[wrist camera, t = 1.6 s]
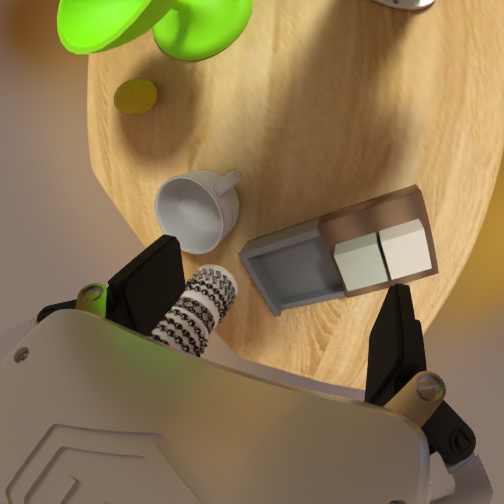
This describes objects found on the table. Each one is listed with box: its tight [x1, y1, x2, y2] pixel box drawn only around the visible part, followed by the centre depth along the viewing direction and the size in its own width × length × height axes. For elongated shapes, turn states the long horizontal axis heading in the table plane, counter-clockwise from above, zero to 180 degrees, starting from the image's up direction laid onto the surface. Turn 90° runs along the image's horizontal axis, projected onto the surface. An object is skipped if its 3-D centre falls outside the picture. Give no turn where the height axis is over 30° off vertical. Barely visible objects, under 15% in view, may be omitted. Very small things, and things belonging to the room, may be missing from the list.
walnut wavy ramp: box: [317, 185, 439, 298], centre depth 34 cm, size 14×12×3 cm
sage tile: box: [334, 233, 388, 291], centre depth 33 cm, size 6×6×3 cm
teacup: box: [155, 169, 243, 254], centre depth 37 cm, size 14×11×8 cm
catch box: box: [238, 217, 347, 317], centre depth 40 cm, size 12×12×4 cm
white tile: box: [379, 219, 432, 280], centre depth 30 cm, size 6×6×3 cm
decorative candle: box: [148, 264, 238, 357], centre depth 39 cm, size 9×9×25 cm
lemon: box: [114, 79, 158, 115], centre depth 32 cm, size 6×6×8 cm
